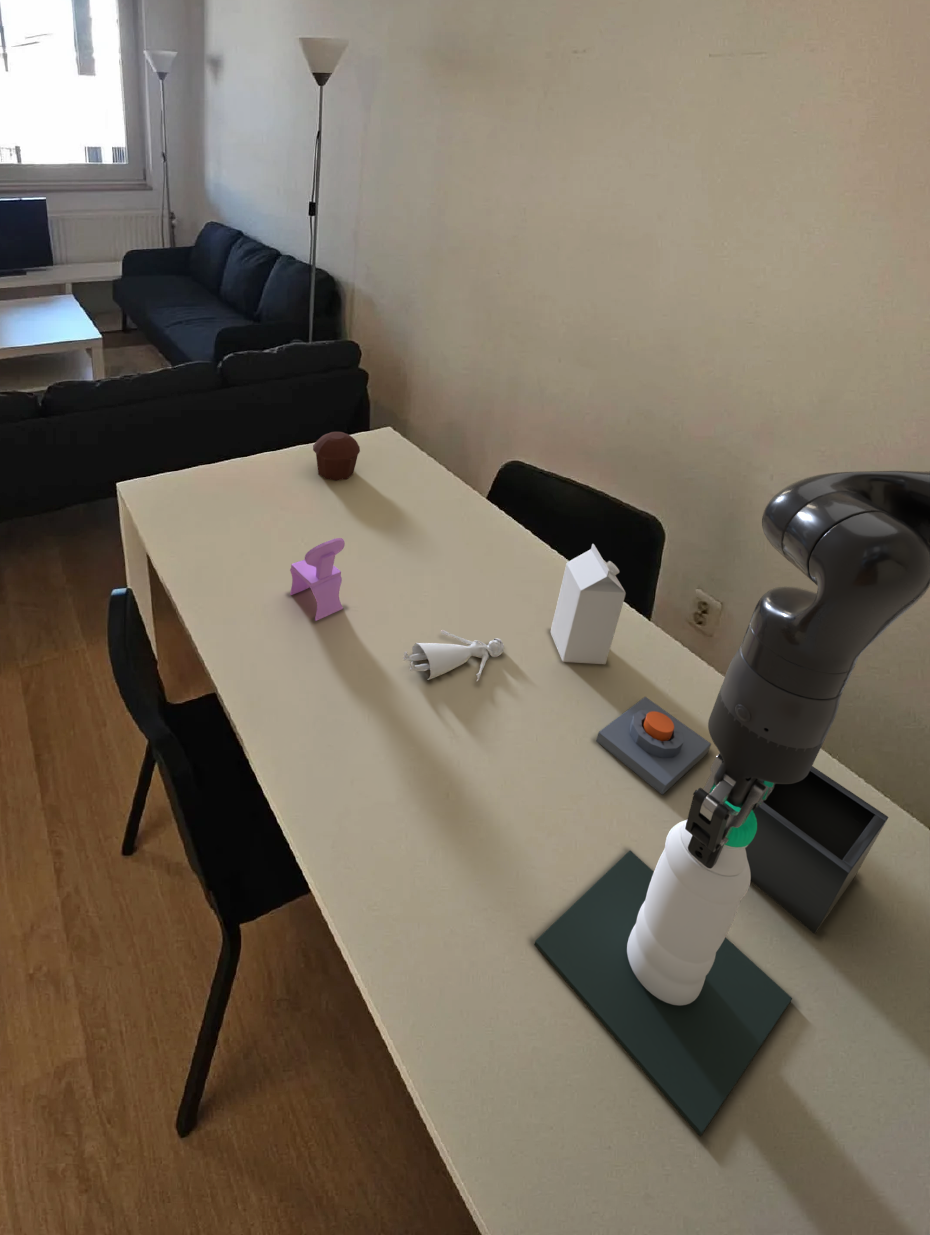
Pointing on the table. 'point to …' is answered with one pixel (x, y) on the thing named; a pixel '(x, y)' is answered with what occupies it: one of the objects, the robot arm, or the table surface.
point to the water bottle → (688, 913)
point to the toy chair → (320, 576)
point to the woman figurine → (451, 654)
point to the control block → (653, 746)
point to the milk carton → (587, 609)
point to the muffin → (336, 455)
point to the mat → (648, 1027)
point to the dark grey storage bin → (811, 845)
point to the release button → (658, 726)
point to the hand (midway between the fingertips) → (716, 840)
